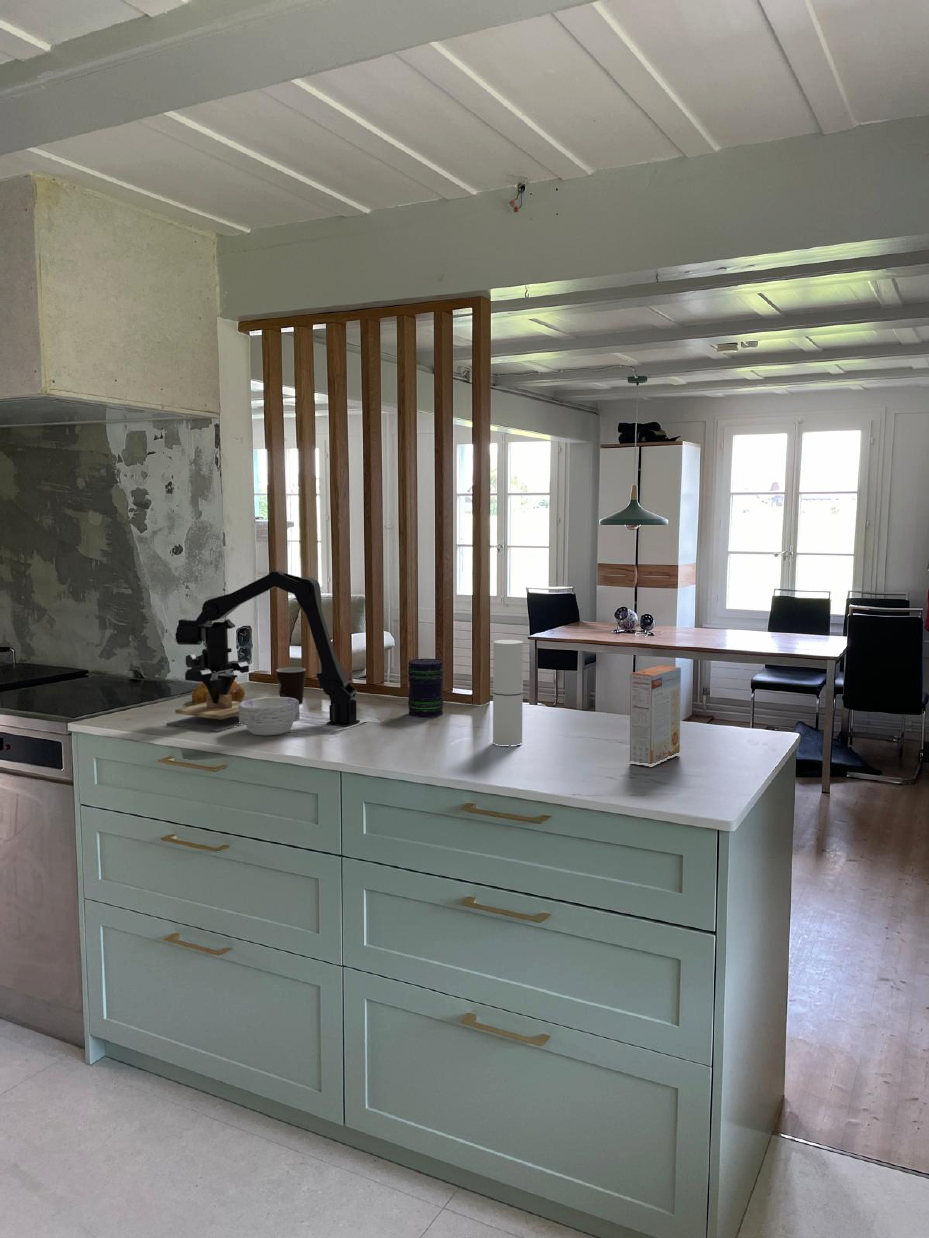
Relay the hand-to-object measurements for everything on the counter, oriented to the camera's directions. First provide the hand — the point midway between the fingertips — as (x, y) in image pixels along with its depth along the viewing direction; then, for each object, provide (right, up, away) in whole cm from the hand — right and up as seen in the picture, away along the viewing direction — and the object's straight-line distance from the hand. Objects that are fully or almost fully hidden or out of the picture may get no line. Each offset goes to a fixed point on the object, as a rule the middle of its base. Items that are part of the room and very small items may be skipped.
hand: (218, 702), depth 249 cm
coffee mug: (+15, -3, +26) cm, 30 cm away
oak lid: (0, -2, 0) cm, 2 cm away
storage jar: (+55, -4, +10) cm, 56 cm away
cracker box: (+109, -10, -39) cm, 116 cm away
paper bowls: (+16, -7, -12) cm, 21 cm away
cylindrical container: (+76, -8, -24) cm, 81 cm away
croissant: (-8, -3, +27) cm, 28 cm away
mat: (0, -5, +1) cm, 5 cm away
